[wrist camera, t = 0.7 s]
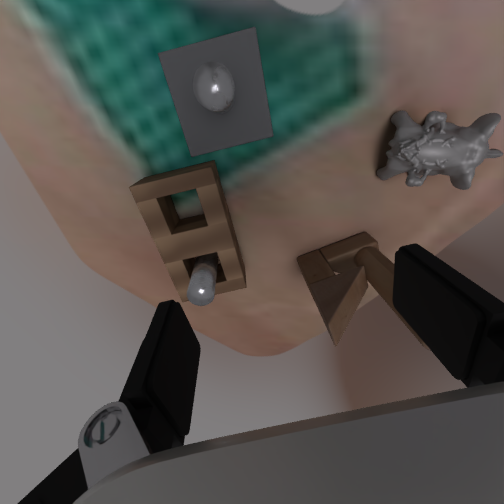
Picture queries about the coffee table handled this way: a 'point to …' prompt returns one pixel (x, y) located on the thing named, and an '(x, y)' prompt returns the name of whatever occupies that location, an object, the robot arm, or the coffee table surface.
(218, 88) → the peg
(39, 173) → the coffee table surface
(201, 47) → the mat
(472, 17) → the coffee table surface
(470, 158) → the gray elephant figurine
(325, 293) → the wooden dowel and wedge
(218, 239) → the hole block
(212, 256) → the seated peg
